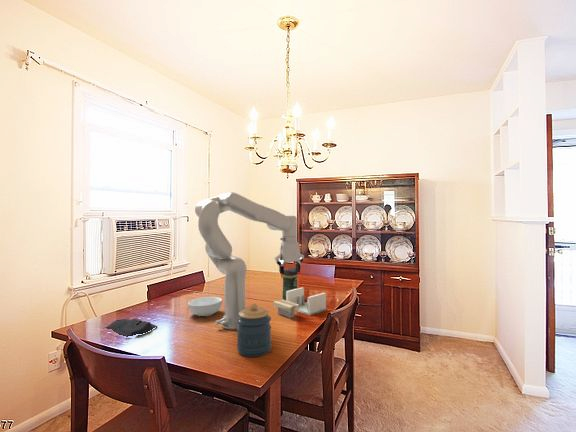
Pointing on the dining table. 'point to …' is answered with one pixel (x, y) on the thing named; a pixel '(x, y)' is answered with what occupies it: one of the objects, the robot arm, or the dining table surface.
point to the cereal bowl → (205, 306)
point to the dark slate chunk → (130, 327)
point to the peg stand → (313, 303)
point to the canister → (254, 331)
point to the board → (286, 305)
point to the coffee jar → (289, 280)
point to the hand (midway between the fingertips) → (289, 272)
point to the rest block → (286, 313)
